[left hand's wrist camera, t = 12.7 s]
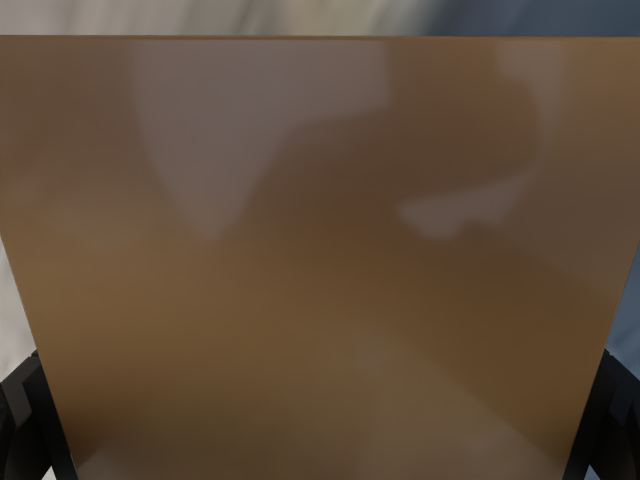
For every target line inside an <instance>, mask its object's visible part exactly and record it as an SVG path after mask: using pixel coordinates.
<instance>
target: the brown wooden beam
mask: <svg viewBox="0 0 640 480" xmlns="http://www.w3.org/2000/svg"><path fill="white" fill-rule="evenodd" d="M0 236H1V239H2V242H3V245H4V248H5V251H6V254H7V258H8V261H9V264H10V267H11V270H12V273H13V276H14V279H15V282H16V286H17V289H18V292H19V295H20V298H21V301H22V304H23V307H24V311H25V314H26V317H27V320H28V323H29V326H30V329H31V332H32V335H33V339H34V342H35V345H36V348H37V351H38V354H39V357H40V360H41V364H42V367H43V370H44V373H45V376H46V379H47V382H48V385H49V389H50V392H51V395H52V398H53V401H54V404H55V407H56V410H57V413H58V417H59V420H60V423H61V426H62V429H63V432H64V435H65V438H66V442H67V445H68V448H69V451H70V454H71V457H72V460H73V463H74V466H75V470H76V473H77V476H78V479H79V480H562V477H563V474H564V471H565V468H566V465H567V462H568V459H569V455H570V452H571V449H572V446H573V443H574V440H575V437H576V434H577V431H578V428H579V425H580V422H581V419H582V416H583V413H584V410H585V407H586V404H587V401H588V398H589V394H590V391H591V388H592V385H593V382H594V379H595V376H596V373H597V370H598V367H599V364H600V361H601V358H602V355H603V352H604V349H605V346H606V343H607V340H608V337H609V333H610V330H611V327H612V324H613V321H614V318H615V315H616V312H617V309H618V306H619V303H620V300H621V297H622V294H623V291H624V288H625V285H626V282H627V279H628V276H629V272H630V269H631V266H632V263H633V260H634V257H635V254H636V251H637V248H638V245H639V242H640V37H593V36H201V35H0Z"/></svg>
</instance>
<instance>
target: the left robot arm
mask: <svg viewBox="0 0 640 480" xmlns="http://www.w3.org/2000/svg"><path fill="white" fill-rule="evenodd" d="M589 464H590V465H591V467H592V468H593V470H594V471H595V473H596V474H597V475H598V477H599V478H600V480H640V381H639V380H638V379H637V378H636V377H635V376H634V375H633V374H632V373H631V372H630V371H629V370H628V369H626V368H625V367H624V366H623V365H622V364H621V363H620V362H619V361H618V360H617V359H616V358H615V357H614V356H613V355H610V354H609V352H608V351H607V350H606V349H604V352H603V355H602V358H601V361H600V364H599V367H598V370H597V373H596V376H595V379H594V382H593V385H592V388H591V391H590V394H589V398H588V401H587V404H586V407H585V410H584V413H583V416H582V419H581V422H580V425H579V428H578V431H577V434H576V437H575V440H574V443H573V446H572V449H571V452H570V455H569V459H568V462H567V465H566V468H565V471H564V474H563V477H562V480H584V478H585V475H586V473H587V470H588V467H589ZM51 466H52V469H53V471H54V474H55V477H56V480H79V479H78V476H77V473H76V470H75V466H74V463H73V460H72V457H71V454H70V451H69V448H68V445H67V442H66V438H65V435H64V432H63V429H62V426H61V423H60V420H59V417H58V413H57V410H56V407H55V404H54V401H53V398H52V395H51V392H50V389H49V385H48V382H47V379H46V376H45V373H44V370H43V367H42V364H41V360H40V357H39V354H38V351H37V349H36V350H35V351H34V352H33V353H32V354H31V357H28V358H27V359H26V360H24V361H23V362H22V363H21V364H20V365H19V366H18V367H17V368H16V369H15V370H14V371H13V372H12V373H11V374H10V375H9V376H8V377H6V378H5V379H4V380H3V381H2V382H1V383H0V480H42V478H43V477H44V475H45V474H46V472H47V471H48V470H49V468H50V467H51Z"/></svg>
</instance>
